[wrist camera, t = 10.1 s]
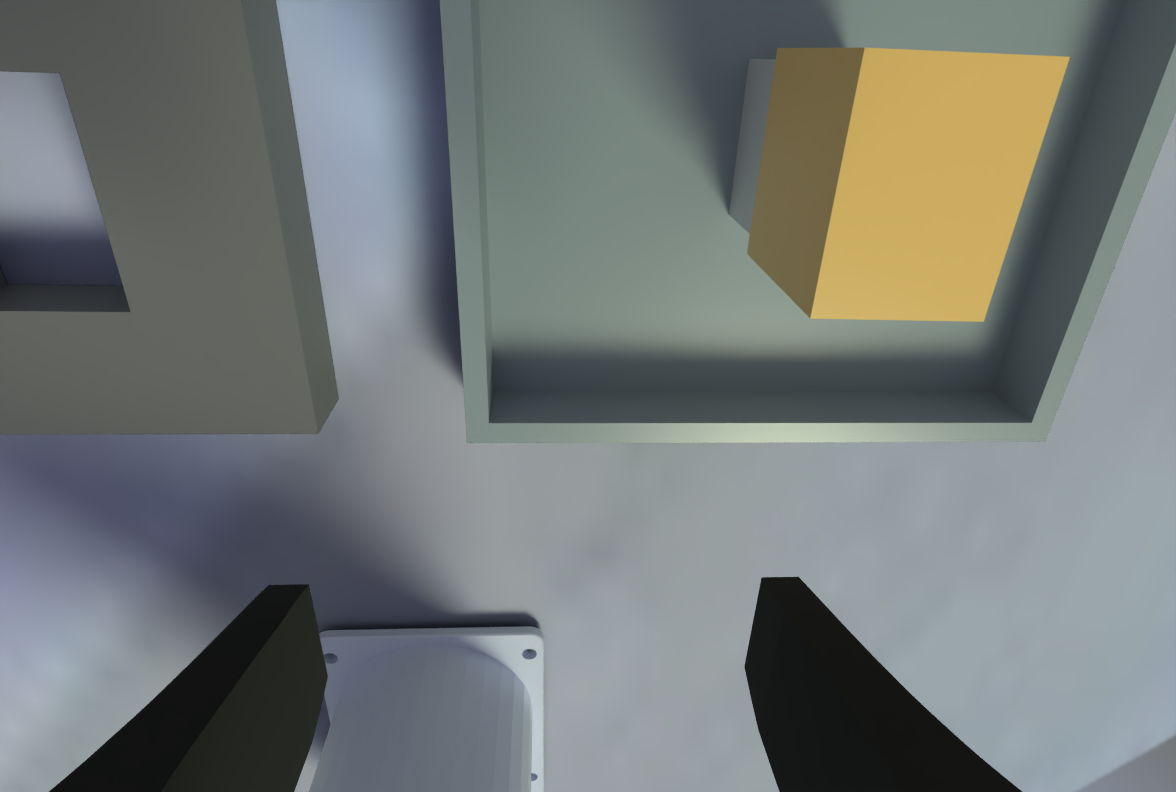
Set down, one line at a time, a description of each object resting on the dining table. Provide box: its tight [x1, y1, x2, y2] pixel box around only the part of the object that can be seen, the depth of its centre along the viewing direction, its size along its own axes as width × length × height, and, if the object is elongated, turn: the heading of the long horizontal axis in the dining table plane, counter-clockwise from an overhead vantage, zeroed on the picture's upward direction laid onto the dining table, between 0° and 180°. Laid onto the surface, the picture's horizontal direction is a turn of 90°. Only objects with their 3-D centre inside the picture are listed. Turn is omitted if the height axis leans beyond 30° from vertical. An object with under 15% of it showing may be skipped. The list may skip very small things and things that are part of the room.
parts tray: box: [440, 0, 1176, 443], centre depth 16 cm, size 14×16×2 cm
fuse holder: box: [0, 0, 338, 434], centre depth 16 cm, size 12×12×2 cm
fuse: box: [729, 48, 1070, 322], centre depth 13 cm, size 4×3×7 cm
